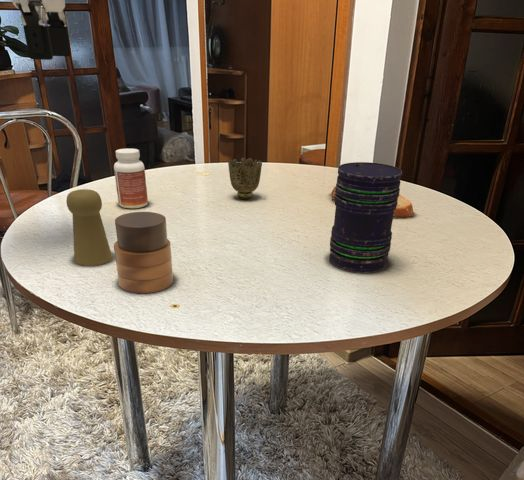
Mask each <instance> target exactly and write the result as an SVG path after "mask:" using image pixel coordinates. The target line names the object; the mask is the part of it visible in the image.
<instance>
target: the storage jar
mask: <svg viewBox="0 0 524 480" xmlns="http://www.w3.org/2000/svg"><path fill="white" fill-rule="evenodd" d="M337 174H338V175H337V176H336V183H335V186H336V188H335V193H336V194H335V198H334V199H333V201H334V205H335V209H334V220H333V225H332V227H331V231H330V232H331V233H330V239H329V252H330V254H329V255H328V262H329V263H330V264H331V265H332V266H333V267H335V268H337V269H339V270H342V271H345V272H350V273H357V274H371V273H377V272H380V271H382V270H384V269H385V268H387V265H388V257H389V254H390V251H391V246H392V239H393V232H392V227H393V220H394V217H393V215H394V210H395V209H396V207H397V204H398V202H397V201H398V197H399V194H400V191H401V179H402V175H403V170H402V169H401V168H398V167H397V166H394V165H390V164H386V163H378V162H370V161H369V162H368V161H357V162H355V161H354V162H346V163H342V164H339V166H337Z"/></svg>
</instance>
